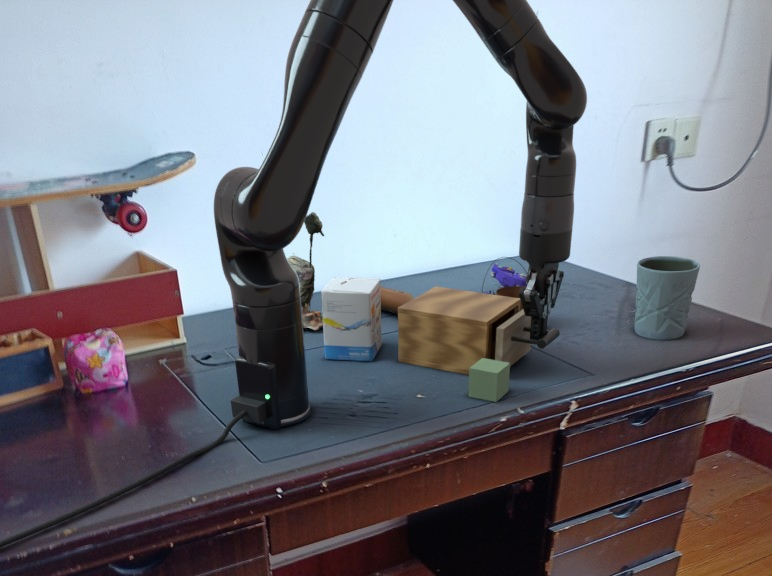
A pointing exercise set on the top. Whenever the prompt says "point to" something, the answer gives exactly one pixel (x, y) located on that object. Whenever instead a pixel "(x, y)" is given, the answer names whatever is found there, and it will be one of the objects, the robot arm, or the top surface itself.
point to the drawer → (514, 337)
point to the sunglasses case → (393, 299)
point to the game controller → (507, 276)
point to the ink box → (352, 318)
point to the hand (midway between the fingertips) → (537, 339)
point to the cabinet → (449, 327)
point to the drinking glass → (664, 296)
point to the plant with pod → (308, 276)
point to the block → (489, 379)
